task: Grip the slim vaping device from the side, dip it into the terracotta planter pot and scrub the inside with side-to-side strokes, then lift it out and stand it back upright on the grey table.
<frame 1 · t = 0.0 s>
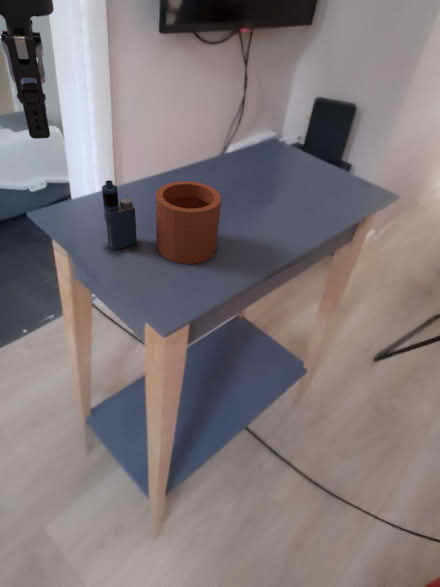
hand: (39, 124, 49), 22 cm above the table, tool pointing down, fingers open, 8 cm apart
vaping device: (122, 244, 69), on the table
terracotta planter pot: (186, 246, 70), on the table
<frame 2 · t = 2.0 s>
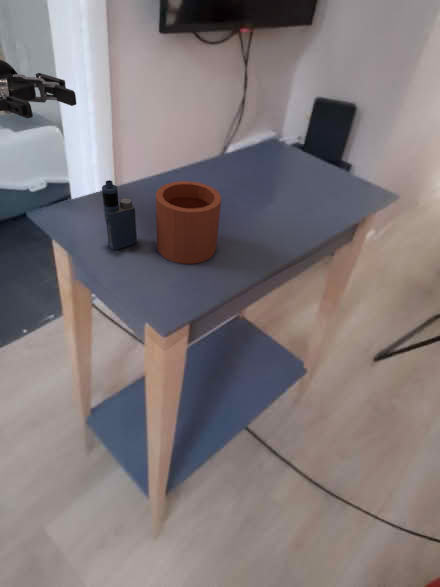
hand: (53, 104, 60), 20 cm above the table, tool horizontal, fingers open, 8 cm apart
nothing on the table moved.
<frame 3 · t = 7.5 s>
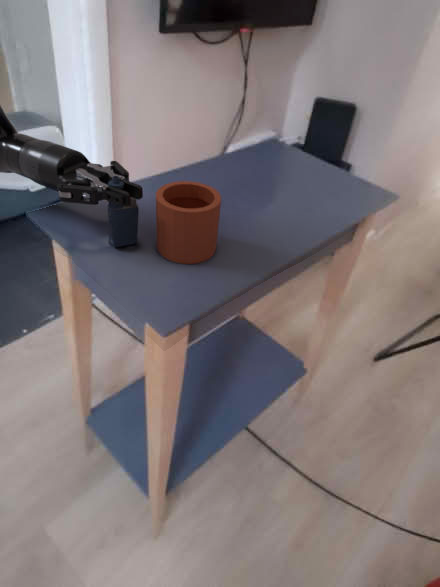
hand: (134, 196, 61), 10 cm above the table, tool horizontal, fingers closed on vaping device, 2 cm apart
vaping device: (122, 243, 69), on the table, touching gripper
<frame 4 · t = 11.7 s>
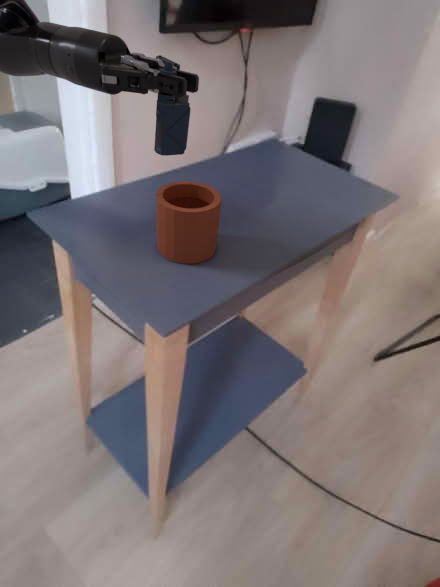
hand: (191, 86, 52), 27 cm above the table, tool horizontal, fingers closed on vaping device, 2 cm apart
vaping device: (169, 153, 60), point 16 cm above the table, touching gripper
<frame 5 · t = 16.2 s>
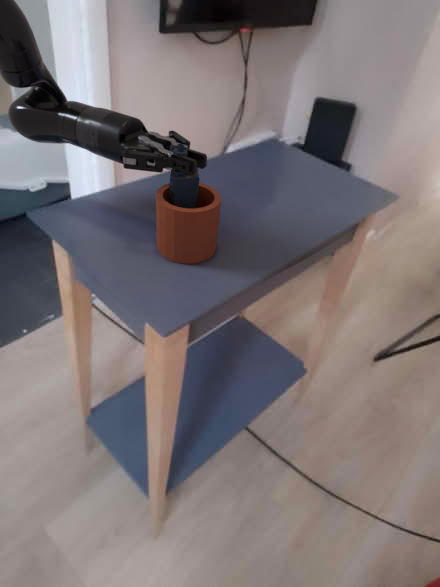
hand: (200, 164, 60), 16 cm above the table, tool horizontal, fingers closed on vaping device, 2 cm apart
vaping device: (180, 215, 68), point 6 cm above the table, touching gripper
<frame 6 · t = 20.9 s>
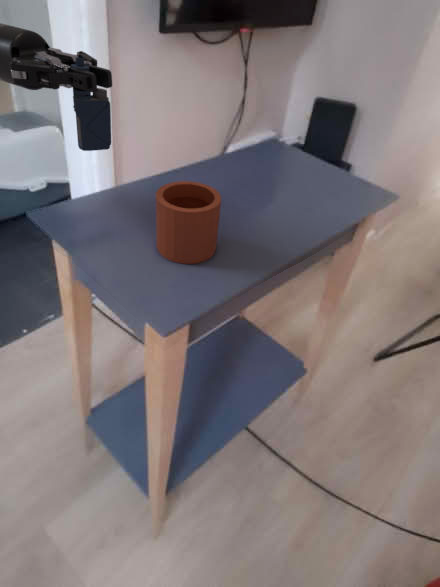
hand: (102, 81, 52), 26 cm above the table, tool horizontal, fingers closed on vaping device, 2 cm apart
vaping device: (94, 149, 60), point 16 cm above the table, touching gripper
when the fingers open (10 cm above the table, at t = 25.3 s): vaping device stays where it is, on the table.
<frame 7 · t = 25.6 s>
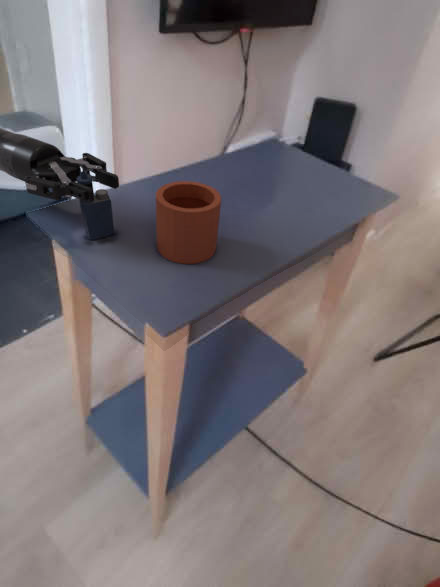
hand: (104, 188, 63), 10 cm above the table, tool horizontal, fingers open, 5 cm apart
vaping device: (99, 235, 71), on the table
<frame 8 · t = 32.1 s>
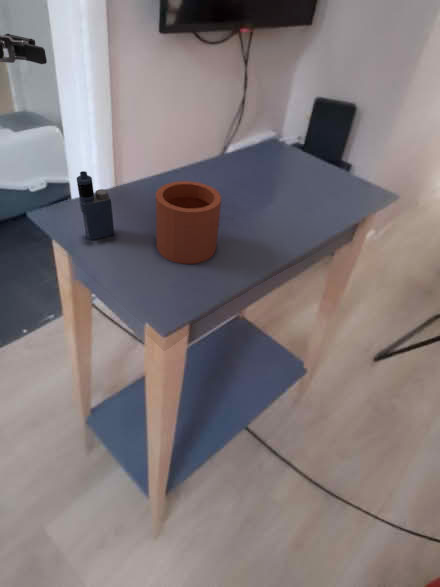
hand: (20, 59, 57), 26 cm above the table, tool horizontal, fingers open, 8 cm apart
nothing on the table moved.
at the end: vaping device 0.9 cm from the target spot, on the table; vaping device tilted 0°; the gripper is holding nothing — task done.
